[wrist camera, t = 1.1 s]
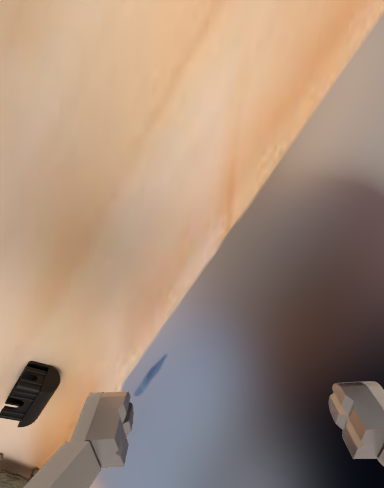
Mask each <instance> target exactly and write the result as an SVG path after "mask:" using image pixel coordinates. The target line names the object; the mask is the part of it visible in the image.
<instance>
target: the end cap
mask: <svg viewBox="0 0 384 488" xmlns="http://www.w3.org/2000/svg"><path fill="white" fill-rule="evenodd" d="M59 384H60V375H59V373H58V371H57V370H56V369H54V368H53V367H52V366H50V365H46V364H43V363H39V362H35V361H29V362H28V364H27V366H26V367H25V369H24V371H23V372H22V374H21V376H20V377H19V379H18V380H17V382H16V384H15V385H14V387H13V389H12V391H11V393H10V395H9V396H8V398H7V400H6V402H5V404H10V405H16V406H18V407H17V408H14V407H9V406H4V408H3V409H2V410H1V412H0V418H5V419H11V420H17V421H20V422H19V424H18V427H25V426H28V425H30V424H32V423H33V422H34V421H35V420H36V419H37V418H38V416H39V415H40V413H41V412H42V410H43V409H44V407H45V406H46V404H47V403H48V401H49V400H50V398H51V397H52V395H53V394H54V392H55V390H56V389H57V387H58V386H59Z"/></svg>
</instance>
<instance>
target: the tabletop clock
mask: <svg viewBox="0 0 384 488" xmlns="http://www.w3.org/2000/svg"><path fill="white" fill-rule="evenodd" d="M2 458H3V455H2V454H0V461H1V460H2ZM38 471H39V470H38V469H34V470H33V471H32V474H31V475H32V476H31V477H30V478H29V479H26V478H24V477H22V476H20V475H18V474H14V473H10V472H6V471H0V488H23V487H24V486H25V485H26V484H27V483H28V482H29V481H30V480H31V479H32V478H33V476H34V475H35V474H36V473H37V472H38Z"/></svg>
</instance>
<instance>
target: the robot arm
mask: <svg viewBox="0 0 384 488" xmlns="http://www.w3.org/2000/svg"><path fill="white" fill-rule="evenodd" d="M332 389H333V391H334V393H333V394H332V395H331V396H330V398H329V407H330V412H331V414H332V417H333V419H334V421H335V423H336V424H337V425H338V426H339V427H340V428H341V429H343V436H342V437H343V439H344V441H345V443H346V445H347V447H348V449H349V451H350V453H351V455H352V457H353V459H378V461H379V462H380V463H381V464H382V465H383V466H384V390H383V388H382V387H381V386H380V385H379V384H378V383H377V382H373V381H372V382H348V383H336V384H334V385H333V388H332ZM129 401H130V394H129V392H99V393H90V394H89V396H88V397H87V399H86V402H85V404H84V407H83V409H82V412H81V414H80V417H79V419H78V422H77V425H76V427H75V430H74V432H73V435H72V437H71V440H70V441H68V442H65V443H64V444H63V445H62V446H61V447H60V449H59V450H58V451H57V452H56V453H55V454H54V455H53V456H52V457H51V458H50V459H49V460H48V461H47V463H46V464H45V465H44V466H43V467H42V468H41V469H40V470H39V471H38V472H37V473H36V474H35V475H34V476H33V478H32V479H31V480H30V481H29V482H28V483H27V484H26V485H25V486H24V487H23V488H89V487H90V485H91V484H92V483H93V481H94V480H95V478H96V477H97V475H98V474H99V472H100V471H101V468H106V467H122V466H124V464H125V459H126V454H127V450H128V441H127V438H126V437H127V436H128V434H129V433H130V432H131V429H132V424H133V414H134V412H133V405H132V403H131V402H129Z"/></svg>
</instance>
